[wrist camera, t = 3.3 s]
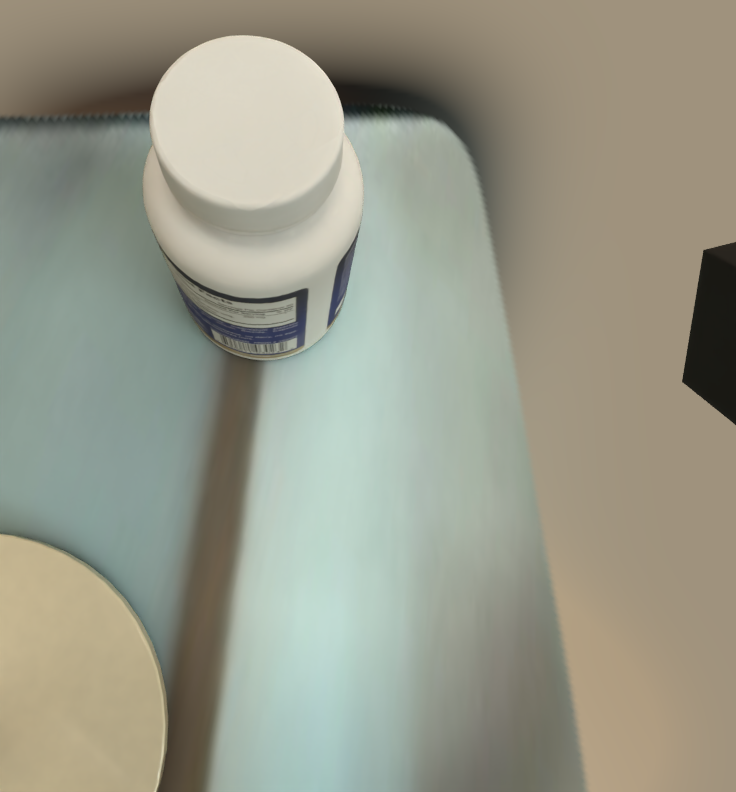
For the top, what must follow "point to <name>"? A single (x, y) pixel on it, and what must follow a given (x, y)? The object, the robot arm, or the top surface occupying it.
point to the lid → (74, 679)
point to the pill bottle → (253, 194)
